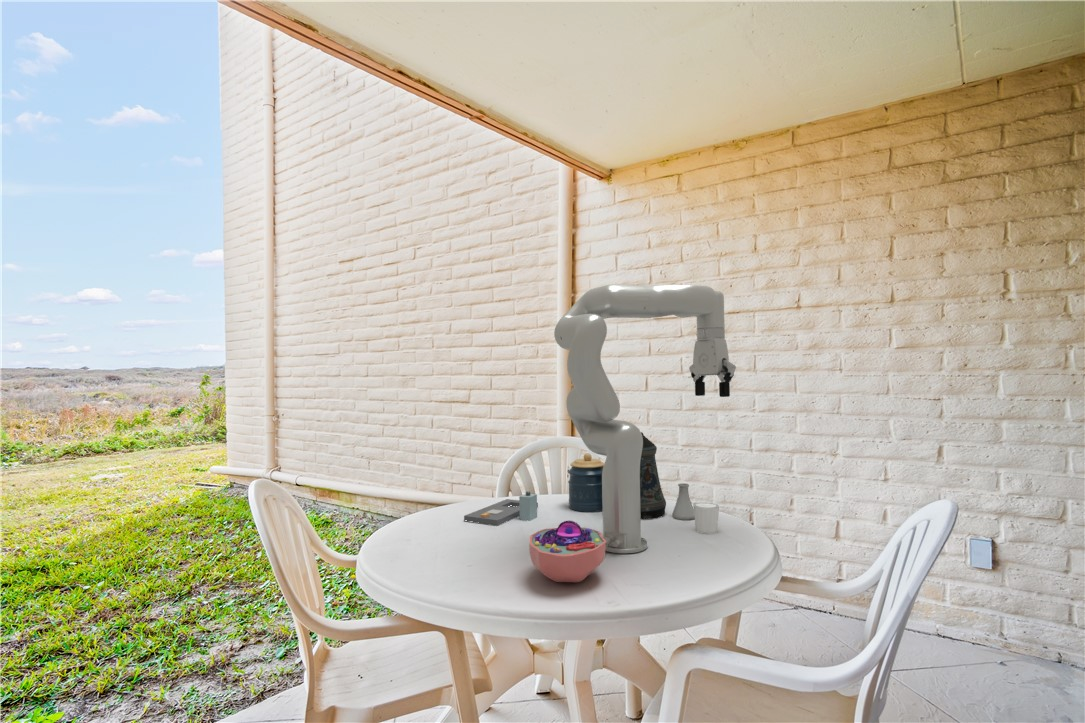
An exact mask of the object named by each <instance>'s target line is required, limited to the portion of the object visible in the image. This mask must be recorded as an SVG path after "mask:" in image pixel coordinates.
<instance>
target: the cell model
mask: <svg viewBox="0 0 1085 723" xmlns="http://www.w3.org/2000/svg"><path fill="white" fill-rule="evenodd" d="M528 540H529V542H528V543H529V544H528V545H529V546H528V547H529V549H528V550H529V557H530V560H531V564H532V565H533V566H534V567H535V568H536V569H537V570H538V571H539V572H540V573H541V574H543V575H544V576H545V577H547V578H548V579H549V580H551V581H554V582H556V583H580V582H582V581H583V580H585V579H586V578H587V577H589V576H590V575H592V574H593V573H594V572H595V571H596V570H597V569H598V568H599V567H600V566H601V565H602V564H603V563H604V561H605V558H606V551H605V549H606V540H605V539H604V538H603V533H602V532H600V531H598V530H596V529H592V528H590V527H589V528H587V527H581V526H580V524H579V523H578V522H576V521H574V520H565V521H563V522H561V523H559V525H558V526H557V527H554V528H545V529H541V530H538V531H537V532H534V533H533V534H531V535H530V536H529V539H528Z"/></svg>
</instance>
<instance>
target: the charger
mask: <svg viewBox="0 0 1085 723" xmlns="http://www.w3.org/2000/svg"><path fill="white" fill-rule="evenodd" d="M518 498H519V506H520V516H519V520H520V519H522V521H527V520H528V522H531V521H533V520H534V519H535V520H536V519H537V518H538V508H537V503H538V495H537V494H536V493H535V494H534V493H531V491H525V493H524V494H522V495H519V496H518Z"/></svg>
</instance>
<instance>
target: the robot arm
mask: <svg viewBox="0 0 1085 723" xmlns="http://www.w3.org/2000/svg"><path fill="white" fill-rule="evenodd" d="M667 316H675V317H678V318H684V319H685V318H692V317H695V318H696V340H695V342H694V346H693V357H692V359H693V360H692V364H691V365H690V366H688V367H689V368H688V369H689V373H690V376H691V378H692V381H693V382H694V395H695V396H697V397H698V396H699V397H700V396H705V395H706V385H705V384H706V383H705V381H704V380H705V378H706V377H707V376H717V377H718V379H719V380H720V382H719V384H718V387H719V388H718V390H719V391H718V392H719V394H718V395H719V397H721V398H726V397H727V398H728V397H730V395H731V394H730V391H731V390H730V389H731V388H730V383H731V382H732V379H733V378H734V375H735V371H736V369H737V366H736V365H735V364H734V363H732V362H731V361H730V358H729V349H728V345H727V340H726V336H725V335H726V333H725V330H726V329H725V296H724V294H723V292H721V291H718V290H715V289H714V288H712V287H711V286H709V285H708V286H707V285H699V284H698V285H696V284H695V285H692V284H690V285H689V284H686V285H685V284H682V285H681V284H680V285H666V284H665V285H642V284H639V285H638V284H636V285H635V284H616V283H615V284H605V285H602V286H598V287H594V288H591V289H589V290H587V291H586V292H585V293H584V294H583V295H582V296H580V297H579V299H578V300H577V301H576V302H575V303H574V304H573V305H572V306H571V307H570V309H568V310H567V311H566V313H565V314H564V315H563V316H561V318H560V319H559V320H558V321H557V323H556V325H555V327H554V332H553V334H554V336H553V337H554V340H555V342H556V344H557V345H558V346H559V347H560V348H562V349H564V350H568V355H567V360H566V368H567V374H568V377H569V379H570V381H571V384H572V386H573V388H571V389H570V390H569V392H567V393H568V394H567V396H566V400H565V401H566V403H565V406H566V411H567V413H568V416H569V417H570V419H571V422H572V423H573V426H574V427H575V429H576V431H577V433H578V435H579V436H580V438H581V440H582V442H583V443H584V445H585V446H586V448H587V449H588V450H589V451H591V452H592V453H594V454H597V455H601V456H606V458H605V461H604V463H605V464H604V467H603V471H602V503H603V510H602V537H603V538H604V539H605V540H606V549H605V552H607V553H608V552H609V553H613V554H634V553H636V554H637V553H640V552H643V551H645V550H646V549H647V548H648V541H647V539H645V538H643V537H642V532H641V531H642V526H641V523H642V522H641V520H642V519H641V514H640V460H641V454H642V448H643V437H642V434H641V431H640V429H639V427H638V426H636V425H635V424H634V423H631V422H629V421H625V420H620V419H616V418H617V417H618V416H619V414H620V412H621V411H620V410H621V403H620V399H619V397H618V396H617V393H616V391H615V390H614V388H613V385H612V383H611V382H610V380H609V378H608V375H607V374H606V372H605V370H604V367H603V364H602V360H601V359H602V358H601V356H602V349H603V346H604V343H605V341H606V337H607V334H608V327H607V323H606V321H605V320H606V319H612V318H614V319H616V318H617V319H618V318H619V319H620V318H621V319H623V318H624V319H625V318H626V319H628V318H630V319H631V318H632V319H636V318H637V319H638V318H639V319H651V318H653V319H654V318H662V317H667Z"/></svg>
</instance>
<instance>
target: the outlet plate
mask: <svg viewBox="0 0 1085 723" xmlns="http://www.w3.org/2000/svg"><path fill="white" fill-rule="evenodd" d="M510 505H512V506H517V507H508V506H510ZM537 507H538V508H539V503H538V502H537ZM517 516H518V517H520V506H519V500H518V499H509V498H507V499H503V500H501V501H499V502H496V503H493V504H491V505H489V506H486V507H483V508H481V509H478V510H476V511H473V512H470V513H467V514H465V515H464V516H463V521H464V520H467V521H473V522H472V523H474V522H479V523H478V524H481V523H485V524H484V525H488V524H491V525H490V526H495V525H497V526H496V527H498V526H500V524H501V525H503V524H505V523H507V522H509V521H512V520H513V518H514V519H516V518H518V517H517ZM515 517H516V518H515ZM511 519H512V520H511ZM467 521H466V522H467ZM506 521H507V522H506ZM504 522H505V523H504ZM502 523H503V524H502Z"/></svg>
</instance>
